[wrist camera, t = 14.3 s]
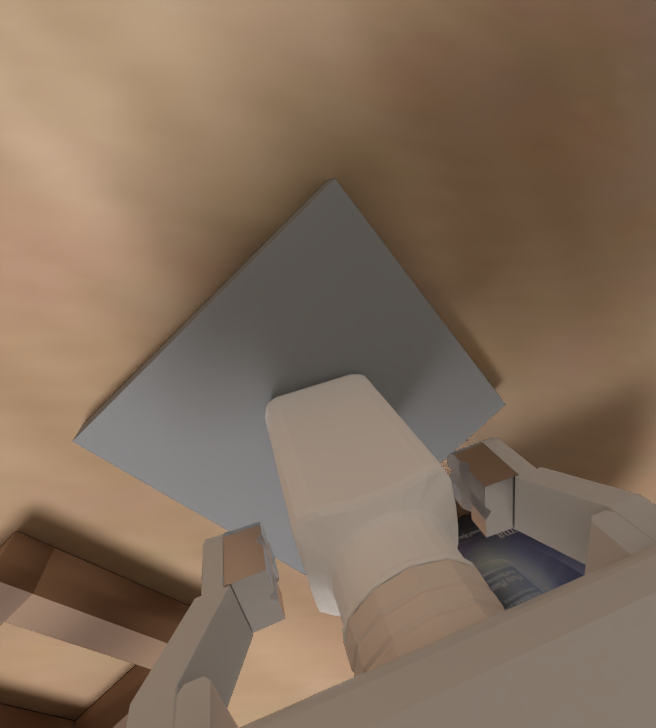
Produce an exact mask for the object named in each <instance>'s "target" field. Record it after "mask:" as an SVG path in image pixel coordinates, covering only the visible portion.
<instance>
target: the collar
mask: <svg viewBox="0 0 656 728" xmlns="http://www.w3.org/2000/svg"><path fill="white" fill-rule="evenodd" d="M189 607H190V606H188V605H185V604H183V603H181V602H179V601H176V600H174V599H172V598H169V597H167V596H165V595H162V594H160V593H158V592H155V591H153V590H151V589H149V588H146V587H144V586H142V585H139V584H137V583H135V582H132V581H130V580H128V579H125V578H123V577H121V576H118V575H116V574H114V573H112V572H109V571H107V570H105V569H102V568H100V567H98V566H95V565H93V564H91V563H88V562H86V561H84V560H81V559H79V558H77V557H75V556H72V555H70V554H68V553H65V552H63V551H61V550H58V549H56V548H54V547H51V546H49V545H47V544H44V543H42V542H40V541H38V540H35V539H33V538H31V537H28V536H26V535H24V534H21V533H19V532H17V531H16V532H15V533H14V534H13V535H12V536H11V537H10V538H9V539H8V540H7V541H6V542H5V543H4V544H3V545H2V546H1V547H0V625H1V624H2V623H3V622H6V623H9V624H12V625H16V626H19V627H22V628H25V629H28V630H31V631H34V632H37V633H40V634H43V635H46V636H50V637H53V638H56V639H59V640H62V641H65V642H68V643H71V644H74V645H77V646H80V647H84V648H87V649H90V650H93V651H96V652H99V653H102V654H105V655H108V656H111V657H114V658H117V659H121V660H124V661H127V662H130V663H133V664H136V666H134V667H133V668H132V669H131V670H130V671H129V672H128V673H127V674H126V675H125V676H124V677H123V678H121V679H120V680H119V681H118V682H117V683H116V684H115V685H114V686H113V687H112V688H111V689H110V690H108V691H107V692H106V693H105V694H104V695H103V696H102V697H101V698H100V699H99V700H98V701H97V702H95V703H94V704H93V705H92V706H91V707H90V708H89V709H88V710H87V711H86V712H85V713H84V714H82V715H81V716H80V717H79V718H78V719H77V720H76V721H72V720H67V719H63V718H59V717H54V716H50V715H46V714H41V713H37V712H33V711H28V710H24V709H19V708H15V707H11V706H6V705H2V704H0V728H126V724H127V719H128V713H129V708H130V704H131V702H132V700H133V699H134V697H135V695H136V694H137V692H138V691H139V689H140V687H141V686H142V684H143V682H144V681H145V679H146V678H147V676H148V674H149V673H150V671H151V669H152V668H153V666H154V664H155V663H156V661H157V660H158V658H159V656H160V655H161V653H162V651H163V650H164V648H165V647H166V645H167V643H168V642H169V640H170V638H171V637H172V635H173V634H174V632H175V630H176V629H177V627H178V625H179V624H180V622H181V620H182V619H183V617H184V616H185V614H186V612H187V611H188V609H189Z"/></svg>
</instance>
